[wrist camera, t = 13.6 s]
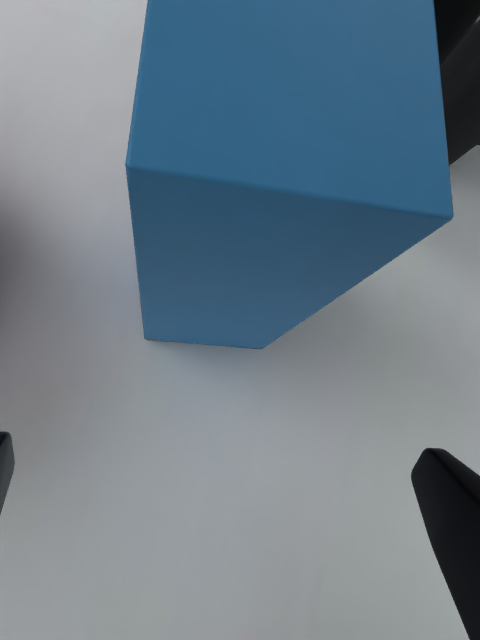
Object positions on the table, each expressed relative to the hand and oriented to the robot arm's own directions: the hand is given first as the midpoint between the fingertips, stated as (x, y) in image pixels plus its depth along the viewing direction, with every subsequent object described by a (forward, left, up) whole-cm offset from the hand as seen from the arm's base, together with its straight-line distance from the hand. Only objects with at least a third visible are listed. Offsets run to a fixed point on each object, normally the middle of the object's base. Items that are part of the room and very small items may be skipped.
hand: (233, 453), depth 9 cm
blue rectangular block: (+5, -4, -8) cm, 10 cm away
